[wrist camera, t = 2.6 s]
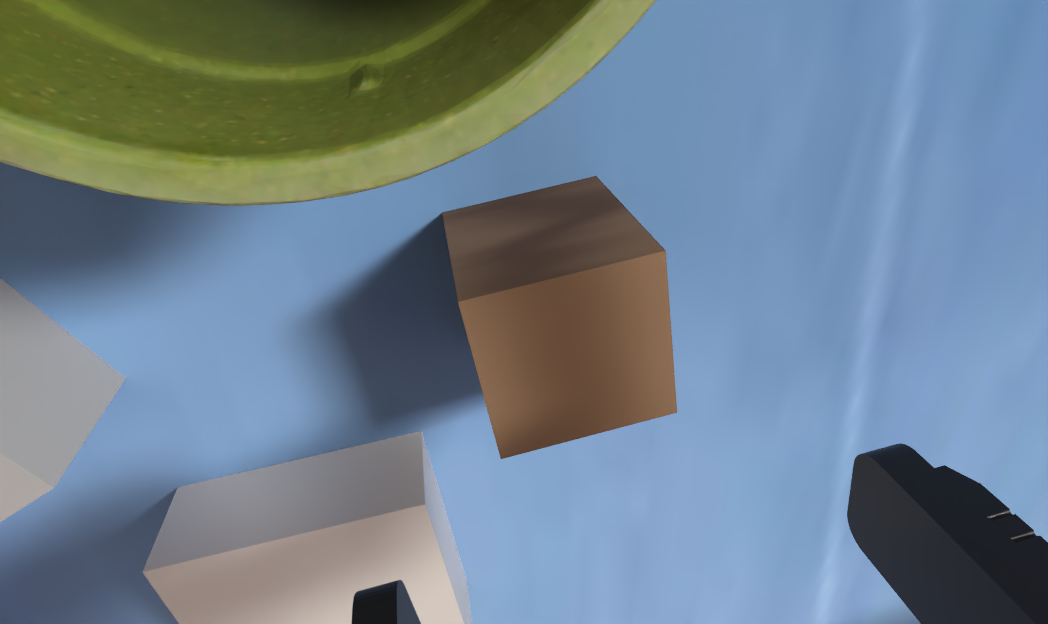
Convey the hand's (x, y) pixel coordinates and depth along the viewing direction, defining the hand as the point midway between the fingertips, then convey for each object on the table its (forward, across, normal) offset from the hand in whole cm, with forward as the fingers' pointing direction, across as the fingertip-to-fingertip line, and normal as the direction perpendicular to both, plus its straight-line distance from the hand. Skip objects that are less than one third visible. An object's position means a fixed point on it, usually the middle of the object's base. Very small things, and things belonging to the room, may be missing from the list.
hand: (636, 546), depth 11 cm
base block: (+12, +9, +10) cm, 18 cm away
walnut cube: (+12, 0, 0) cm, 12 cm away
